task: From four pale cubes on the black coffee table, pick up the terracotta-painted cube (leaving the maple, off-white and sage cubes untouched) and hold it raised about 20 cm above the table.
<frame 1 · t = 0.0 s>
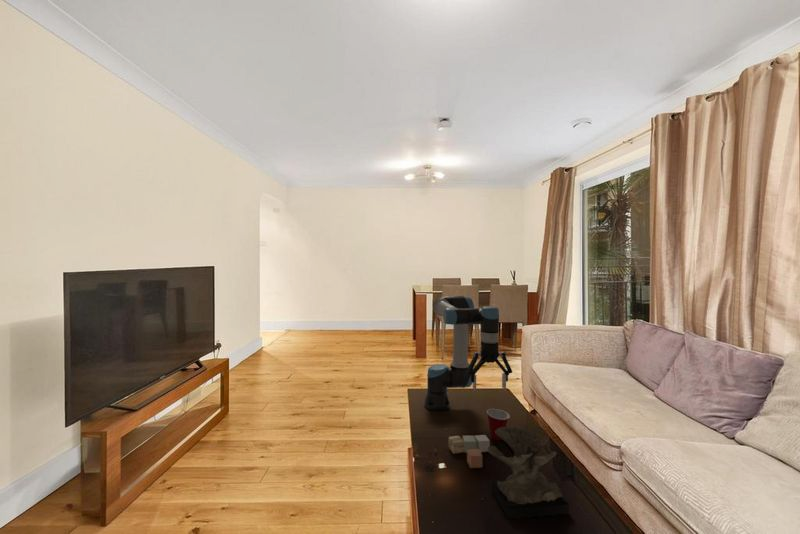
hand: (489, 388, 149), 28 cm above the table, fingers open, 13 cm apart
coral: (520, 497, 120), on the table
plastic cup: (497, 437, 161), on the table
sage cube: (469, 449, 150), on the table
maple cube: (456, 450, 150), on the table
offwhite cube: (481, 449, 151), on the table
terracotta cube: (474, 464, 139), on the table
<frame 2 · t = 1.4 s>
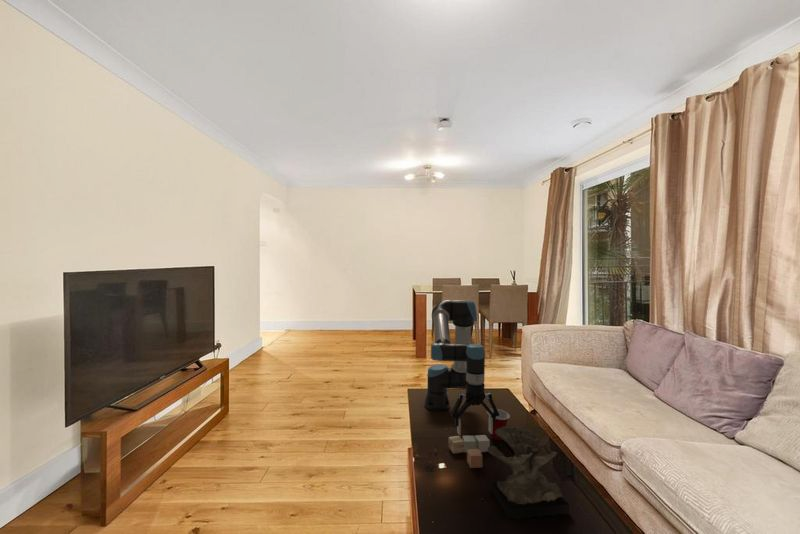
hand: (474, 433, 139), 13 cm above the table, fingers open, 13 cm apart
nothing on the table moved.
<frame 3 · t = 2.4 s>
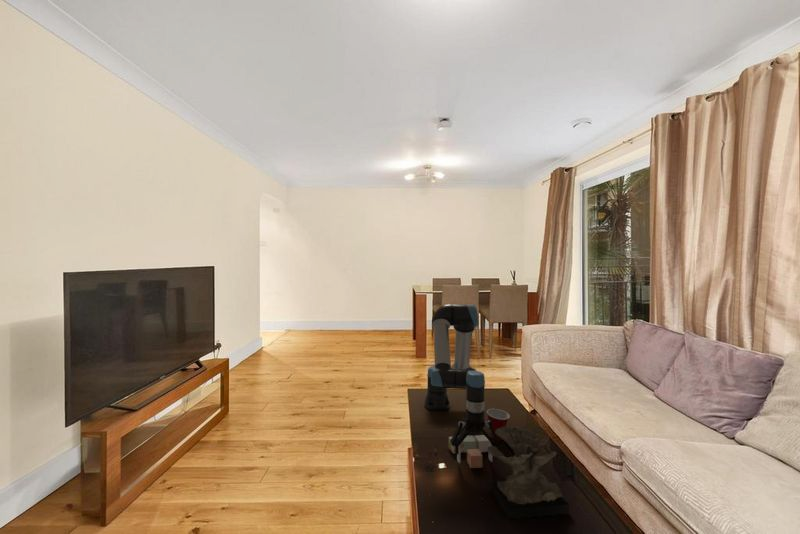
hand: (474, 460, 139), 2 cm above the table, fingers open, 13 cm apart
nothing on the table moved.
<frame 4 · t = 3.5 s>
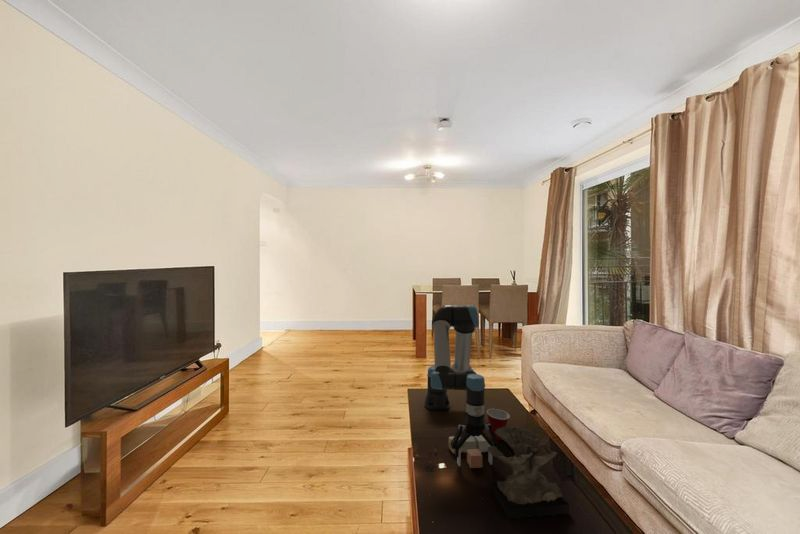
hand: (474, 463, 139), 0 cm above the table, fingers open, 13 cm apart
nothing on the table moved.
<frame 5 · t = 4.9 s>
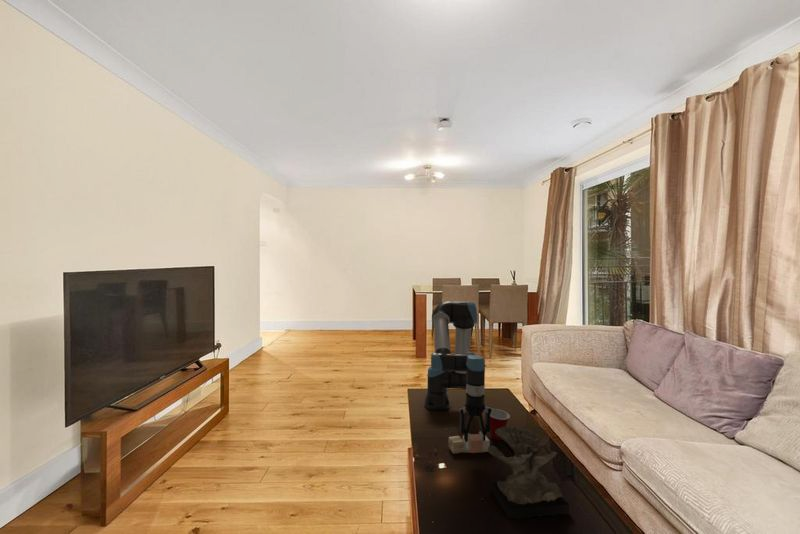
hand: (474, 448, 140), 6 cm above the table, fingers closed on terracotta cube, 5 cm apart
terracotta cube: (474, 449, 140), point 6 cm above the table, touching gripper
everything else where it was.
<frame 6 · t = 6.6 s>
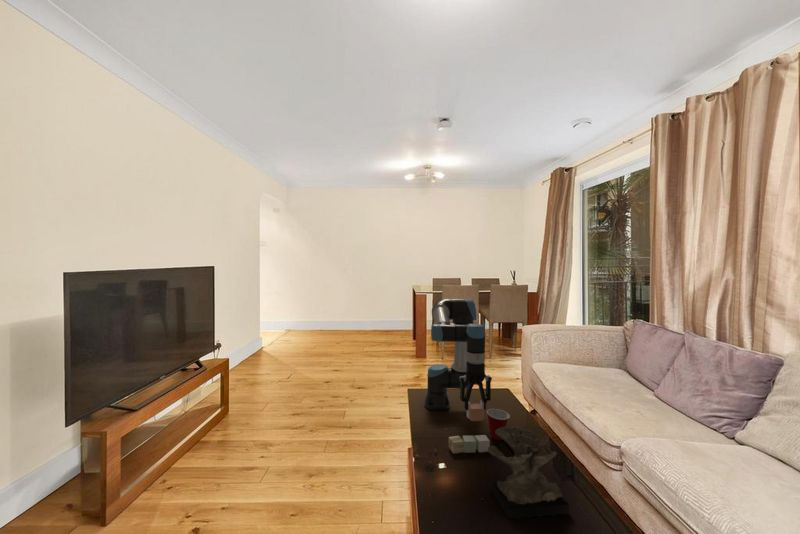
hand: (475, 417, 139), 20 cm above the table, fingers closed on terracotta cube, 5 cm apart
terracotta cube: (475, 418, 139), point 19 cm above the table, touching gripper
everything else where it was.
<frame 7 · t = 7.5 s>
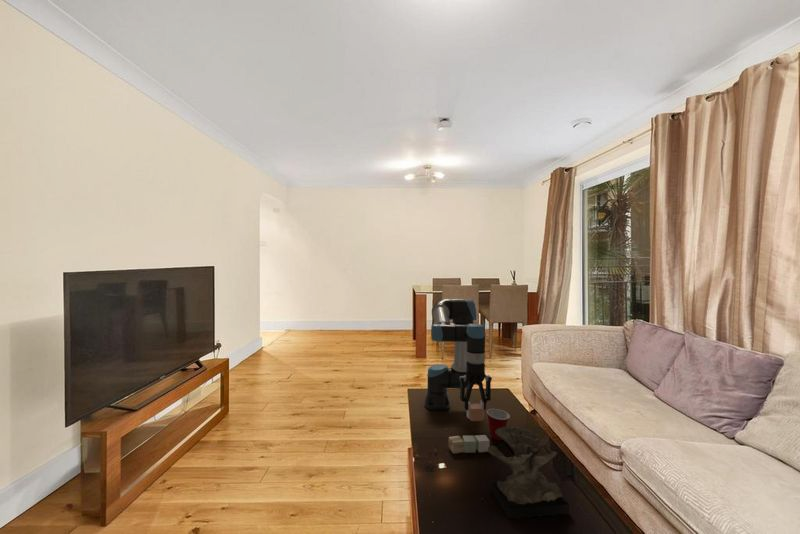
hand: (475, 417, 139), 20 cm above the table, fingers closed on terracotta cube, 5 cm apart
terracotta cube: (475, 418, 139), point 19 cm above the table, touching gripper
everything else where it was.
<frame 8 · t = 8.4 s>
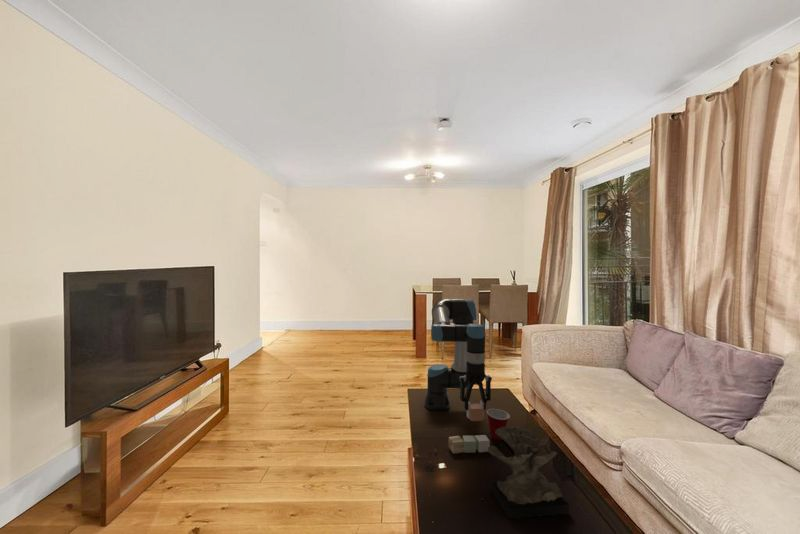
hand: (475, 417, 139), 20 cm above the table, fingers closed on terracotta cube, 5 cm apart
terracotta cube: (475, 418, 139), point 19 cm above the table, touching gripper
everything else where it was.
at the end: the gripper is holding terracotta cube; terracotta cube point 19.3 cm above the table; sage cube moved 0.1 cm from its start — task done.
